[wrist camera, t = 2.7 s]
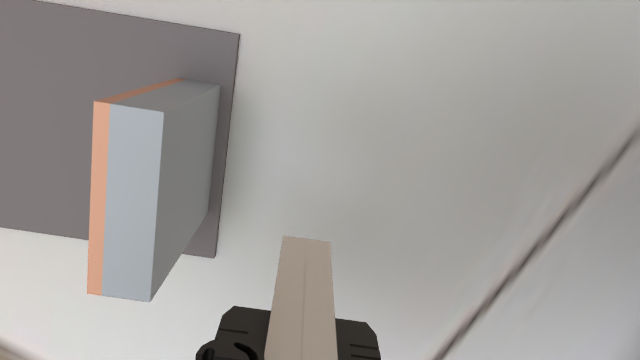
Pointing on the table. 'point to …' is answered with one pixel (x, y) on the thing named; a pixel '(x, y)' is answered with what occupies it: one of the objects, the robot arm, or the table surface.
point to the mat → (90, 105)
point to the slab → (148, 183)
